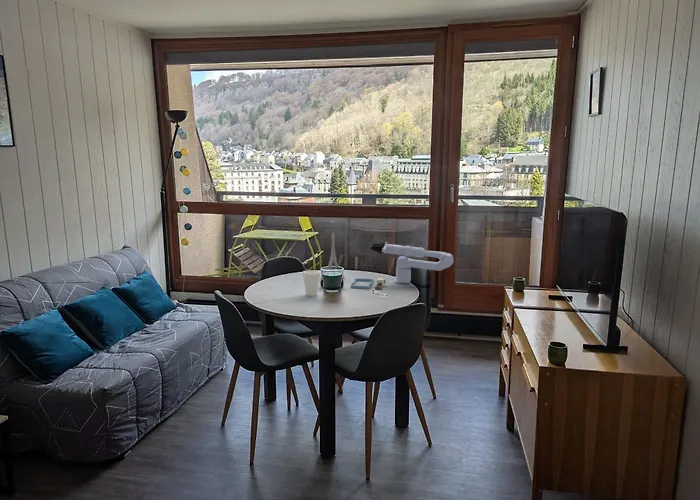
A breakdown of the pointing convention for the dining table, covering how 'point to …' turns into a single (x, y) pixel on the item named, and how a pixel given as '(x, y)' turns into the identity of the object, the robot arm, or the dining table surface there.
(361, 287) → the tray
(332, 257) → the eiffel tower
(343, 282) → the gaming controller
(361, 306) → the dining table surface
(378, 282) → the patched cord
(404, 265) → the robot arm
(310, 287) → the foam cup
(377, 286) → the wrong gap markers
